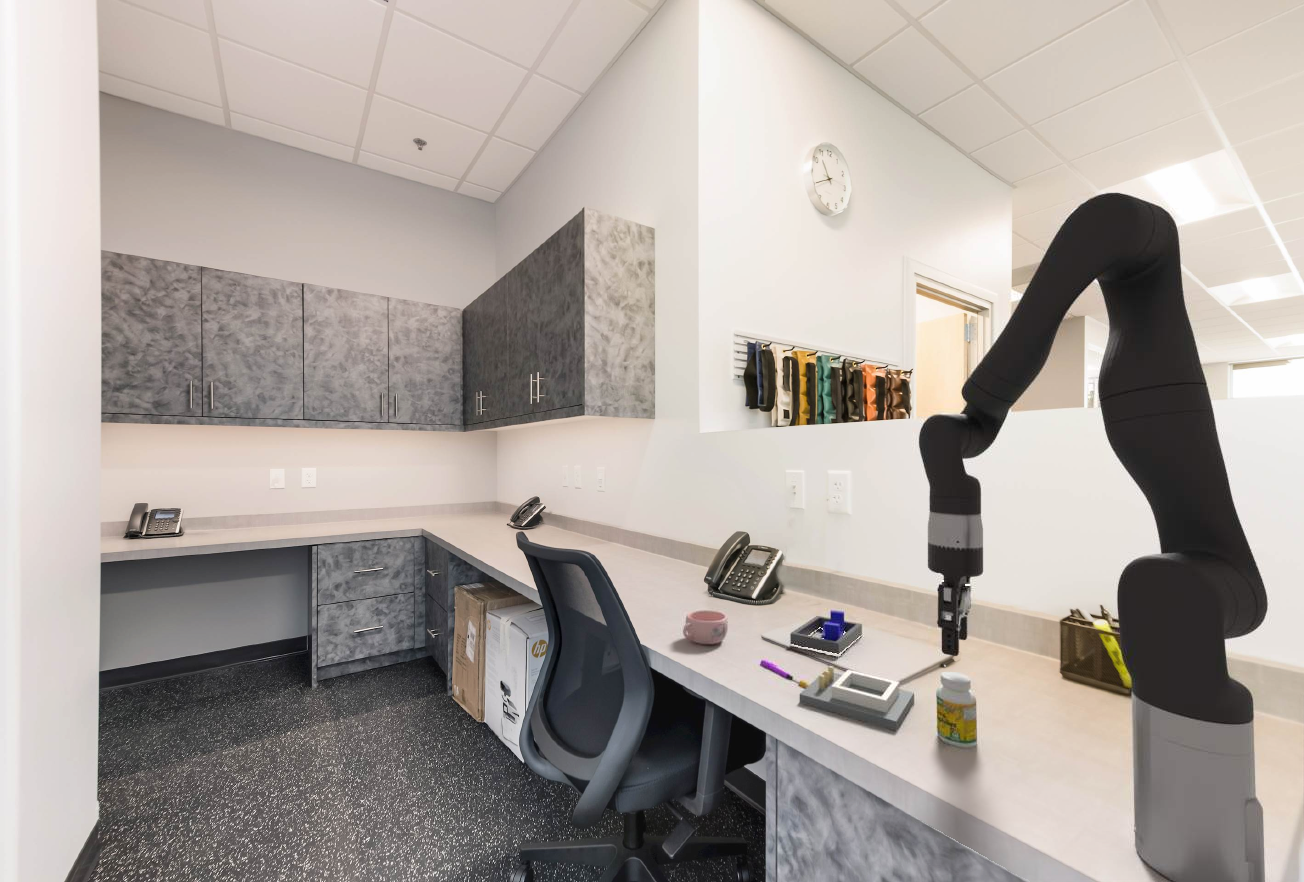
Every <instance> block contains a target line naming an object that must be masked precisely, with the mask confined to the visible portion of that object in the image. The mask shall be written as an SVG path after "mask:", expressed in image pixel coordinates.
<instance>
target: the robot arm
mask: <svg viewBox="0 0 1304 882" xmlns="http://www.w3.org/2000/svg"><path fill="white" fill-rule="evenodd" d="M1180 247H1181V246H1180V237H1179V230H1178V226H1177V223H1176V221H1175V219H1174V218H1173V217H1172V215H1171V214H1170V212H1168V211H1167V210H1166V209H1164V208H1163V207H1162V206H1160V205H1159V204H1154V203H1153V202H1149V201H1147V200H1144V199H1140V198H1139V197H1135V196H1133V195H1130V194H1127V193H1122V192H1121V193H1120V192H1105V193H1101V194H1098V195H1096V196H1093V197H1090V198H1088V199H1087V200H1085V201H1083V202H1082V203H1080V204H1079V205H1078V206H1076V208H1074V209H1073V210H1072V211H1071V212H1070V214H1068V216H1067V217H1066V218H1065V220H1064V221H1063V223H1062V224H1061V225H1060V226H1059V228H1058V230H1057V231H1056V233H1055V235H1054V236H1053V238H1052V240H1051V242H1050V244H1049V245H1048V247H1047V249H1046V252H1045V254H1043V257H1042V259H1041V261H1040V263H1039V264H1038V267H1037V269H1036V271H1035V272H1034V274H1033V276H1032V277H1031V279H1030V281H1029V283H1028V284H1027V287H1026V288H1025V291H1024V292H1023V294H1022V296H1021V298H1020V300H1019V302H1018V304H1017V306H1016V307H1015V309H1014V311H1013V313H1011V316H1010V317H1009V319H1008V322H1007V323H1006V325H1005V327H1004V328H1003V330H1002V331H1001V332H1000V334H999V335H998V337H997V339H996V340H995V341H994V343H993V344H992V346H991V347H990V348H989V350H988V351H987V353H986V354H985V355H984V357H982V359H981V361H980V362H979V363H978V364H977V366H976V367H975V368H974V369H973V371H972V373H971V374H970V375H969V377H967V379H966V381H965V383H964V384H963V385H962V388H961V392H960V393H961V397H962V399H963V400H964V401H965V402H966V404H965V407H964V408H963V409H962V411H961V412H960V413H944V412H941V413H936V414H932V415H931V416H929V417H928V418H926V419H925V421H924V422H923V424H922V425H921V428H920V432H919V435H918V447H919V452H920V453H919V454H920V457H921V461H922V465H923V467H924V468H923V469H924V472H925V474H926V479H927V482H928V485H929V499H928V501H929V514H928V521H927V522H928V523H927V568H928V569H929V571H931V572H932V573H936V574H940V575H942V576H943V580H942V581H941V583H939V584H938V587H937V621H936V625H937V627H938V628H940V629H941V652H942V654H943V655H947V656H952V657H958V656H959V653H960V641H961V640H962V641H966V640H967V639H968V616H969V614H970V609H971V607H972V604H971V602H972V598H971V594H972V593H971V592H972V585H971V578H975V577H980V576H982V574H983V573H984V528H983V527H984V526H983V521H982V520H983V519H982V488H981V483H980V480H979V479H978V478H977V477H975V476H973V475H971V474H968V473H967V471H966V467H965V464H964V459H965V460H966V459H973V458H976V457H978V456H980V455H982V454H984V453H985V452H986V451H987V450H988V449H989V448H990V447H991V446H992V444H993V443H994V442H995V441H996V438H997V437H998V435H999V433H1000V431H1001V429H1002V427H1003V426H1004V423H1005V421H1006V419H1007V416H1008V414H1009V412H1010V410H1011V408H1012V407H1013V406H1014V405H1015V403H1017V401H1018V400H1019V399H1020V398H1021V396H1022V395H1023V394H1024V393H1025V392H1026V391H1027V390H1028V389H1029V387H1030V386H1031V385H1032V383H1033V382H1034V381H1035V380H1036V378H1037V377H1038V375H1039V374H1041V371H1042V370H1043V368H1044V366H1045V365H1046V362H1047V360H1048V358H1049V355H1050V353H1051V350H1052V348H1053V344H1054V341H1055V339H1056V335H1057V333H1058V331H1059V327H1060V326H1061V323H1062V322H1063V320H1064V318H1065V316H1066V315H1067V313H1068V311H1069V310H1070V308H1071V307H1072V305H1073V304H1074V303H1075V302H1076V300H1077V299H1078V298H1079V297H1080V296H1081V294H1083V292H1085V290H1086V289H1087V288H1088V287H1089V286H1090V285H1091V284H1092V283H1093V282H1094V281H1095V280H1097V283H1098V285H1099V287H1100V291H1101V293H1102V296H1103V301H1104V304H1105V308H1106V312H1107V315H1108V316H1107V317H1108V326H1109V327H1108V339H1107V343H1106V348H1105V351H1104V354H1103V357H1102V361H1101V365H1100V370H1099V375H1098V383H1097V384H1098V385H1097V389H1098V390H1097V391H1098V399H1099V405H1100V409H1101V410H1100V411H1101V414H1102V421H1103V425H1104V430H1105V434H1106V438H1107V441H1108V443H1109V445H1110V447H1111V449H1112V450H1113V452H1114V454H1115V455H1116V456H1115V457H1116V458H1117V459H1118V460H1119V462H1120V463H1121V464H1122V466H1123V468H1124V469H1125V470H1126V472H1127V473H1128V474H1129V476H1130V477H1131V479H1132V480H1133V481H1134V483H1135V484H1136V485H1137V486H1138V489H1140V491H1141V492H1142V494H1143V495H1144V497H1145V499H1146V501H1147V502H1148V505H1149V507H1150V509H1151V511H1152V514H1153V518H1154V520H1155V521H1154V522H1155V524H1156V529H1157V535H1158V541H1159V547H1160V553H1155V554H1148V555H1144V556H1140V557H1138V558H1136V559H1133V560H1132V561H1131V562H1129V563H1128V564H1127V565H1126V566H1125V567H1124V568H1123V570H1122V572H1121V574H1120V575H1119V576H1120V577H1119V579H1118V583H1117V591H1116V592H1117V593H1116V594H1117V595H1116V600H1117V601H1116V603H1117V617H1118V618H1117V619H1118V631H1119V643H1120V644H1119V645H1120V652H1121V659H1122V661H1123V664H1124V666H1125V669H1126V671H1127V673H1128V675H1129V677H1130V681H1131V717H1132V718H1131V719H1132V720H1131V721H1132V722H1131V724H1132V730H1131V731H1132V765H1133V766H1132V767H1133V810H1134V811H1133V812H1134V813H1133V814H1134V822H1133V823H1134V824H1133V831H1134V847H1135V850H1136V852H1137V854H1138V855H1139V856H1140V858H1141V859H1142V860H1143V861H1144V862H1145V863H1146V864H1147V865H1148V866H1150V867H1151V868H1152V869H1154V870H1155V871H1156V872H1157V873H1158V874H1159V873H1160V875H1162V876H1164V877H1165V878H1167V879H1169V880H1171V881H1172V882H1266V867H1265V836H1264V835H1265V834H1264V832H1265V830H1264V826H1265V825H1264V808H1263V806H1262V803H1260V801H1259V799H1258V797H1257V795H1256V794H1257V793H1256V792H1257V791H1256V766H1255V765H1256V762H1255V761H1256V759H1255V757H1256V756H1255V726H1254V724H1255V723H1254V722H1255V721H1254V718H1255V712H1254V711H1255V710H1254V698H1253V695H1252V693H1251V691H1250V689H1249V688H1247V687H1246V686H1245V685H1244V684H1242V683H1241V682H1240V681H1238V680H1236V679H1234V678H1231V677H1230V675H1229V670H1228V663H1227V652H1226V651H1227V650H1226V640H1230V639H1236V638H1239V637H1240V638H1241V637H1243V636H1246V635H1248V634H1251V633H1253V632H1255V630H1257V629H1258V628H1259V627H1260V626H1261V625H1262V624H1263V623H1264V621H1265V618H1266V616H1267V612H1268V606H1269V605H1268V604H1269V602H1268V594H1267V591H1266V588H1265V584H1264V583H1265V582H1264V581H1263V577H1262V575H1261V572H1260V570H1259V567H1258V565H1257V562H1256V559H1255V557H1254V555H1253V552H1252V549H1251V547H1250V545H1249V541H1248V539H1247V536H1246V534H1245V531H1244V529H1243V526H1242V524H1241V520H1240V517H1239V515H1238V512H1237V509H1236V506H1235V502H1234V500H1233V499H1234V498H1233V495H1232V491H1231V487H1230V482H1229V481H1230V480H1229V476H1228V472H1227V467H1226V465H1225V464H1226V463H1225V459H1224V456H1223V455H1224V454H1223V452H1222V448H1221V444H1220V443H1221V442H1220V439H1219V434H1218V430H1217V425H1216V419H1215V413H1214V408H1213V404H1212V400H1211V396H1210V391H1209V386H1208V384H1207V383H1208V382H1207V380H1206V377H1205V373H1204V370H1203V366H1202V363H1201V359H1200V356H1199V350H1198V346H1197V342H1196V339H1195V334H1194V331H1193V328H1192V324H1191V322H1190V318H1189V314H1188V311H1187V305H1186V302H1185V295H1184V288H1183V276H1182V274H1183V273H1182V265H1181V264H1182V263H1181V262H1182V261H1181V250H1180V249H1181V248H1180ZM947 616H950V619H946V618H947Z"/></svg>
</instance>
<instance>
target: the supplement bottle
mask: <svg viewBox="0 0 1304 882" xmlns="http://www.w3.org/2000/svg"><path fill="white" fill-rule="evenodd" d="M940 684H941V685H940V686H938V688H937V689H936V694H935V695H936V697H935V698H936V728H937V729H936V732H937V736H938V738H939V739H940V740H941V741H942V742H944V743H946V744H948V745H950V746H955V747H958V748H963V749H964V748H965V749H968V748H969V749H970V748H974V747H975V746H976V745H977V743H978V728H977V727H978V726H977V725H978V723H977V722H978V720H977V717H978V715H977V697H976V695H975V693H974V692H973V691H971V687H972V686H971V678H970V677H969V676H967V675H965V674H963V673H960V672H955V671H943V672H941V673H940Z"/></svg>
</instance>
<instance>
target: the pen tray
mask: <svg viewBox="0 0 1304 882" xmlns="http://www.w3.org/2000/svg"><path fill="white" fill-rule="evenodd" d="M825 622H830V617H825V616H820V615H816V616H815V617H813V618H812V619H810V620H808V621H807V622H805V623H804V624H802V625H801V626H799V627H798V628H796V629H795V630H793V631H791V632H790V635H789V636H790V643H789V644H794V645H798V646H801V647H808V648H813V649H817V650H822V651H827V652H832V653H837V654H839V653H840V652H842V651H843V650H844V649H845V648H846V647H848V646H849V645H850V644H851V643H852V642H853V641H855V640H856V639H857V638H858V637H859V636H861V635H862V636H863V623H856V622H852V621H847V620H844V631H845V632H846V633H845V634H844V635H843V636H842V637H840V638H839V639H838V640H837V641H832V640H827V639H822V637H817V636H813V635H811V636H808V635H810V634H811V633H812V632H814V631H815V630H817V629H818V628H819V627H821V628H823V625H824V623H825Z"/></svg>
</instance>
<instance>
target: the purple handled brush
mask: <svg viewBox="0 0 1304 882" xmlns="http://www.w3.org/2000/svg"><path fill="white" fill-rule="evenodd" d="M760 665H761V666H763V667H764V668H767V669H769V670H770V671H773V672H774V673H776V674H778V675H780V676H782V677H783V678H785V679H788V680H790V681H791V680H793V681H795V682H796V683H798V686H800V687H802V688H804V689H806V688H807V687H808V686H809V685H810V684H808V683H807V682H806V681H804V680H801V679H800V680H797V679H795V678H794V676H793V675H791V674H790V673H789V672H786V671H785V670H783V669H781V668H779V667H778V665H777V664H775V663H773V662H770V661H768V660H766V659H762V660H761V661H760Z"/></svg>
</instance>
